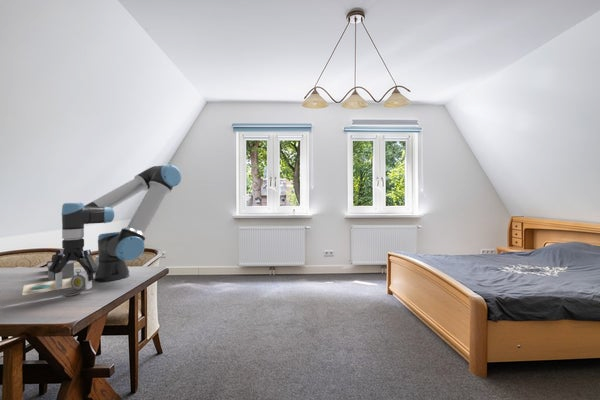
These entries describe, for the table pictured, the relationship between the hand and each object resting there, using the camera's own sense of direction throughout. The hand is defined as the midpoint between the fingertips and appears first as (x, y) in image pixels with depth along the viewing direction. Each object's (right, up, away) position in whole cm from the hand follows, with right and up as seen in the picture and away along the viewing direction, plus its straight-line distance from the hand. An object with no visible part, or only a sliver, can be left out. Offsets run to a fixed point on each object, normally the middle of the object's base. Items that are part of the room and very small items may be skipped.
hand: (73, 288), depth 131 cm
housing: (-25, -2, +25) cm, 35 cm away
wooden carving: (-38, -2, +39) cm, 55 cm away
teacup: (-13, -2, +42) cm, 44 cm away
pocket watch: (0, -3, 0) cm, 3 cm away
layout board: (-16, -2, +10) cm, 19 cm away
